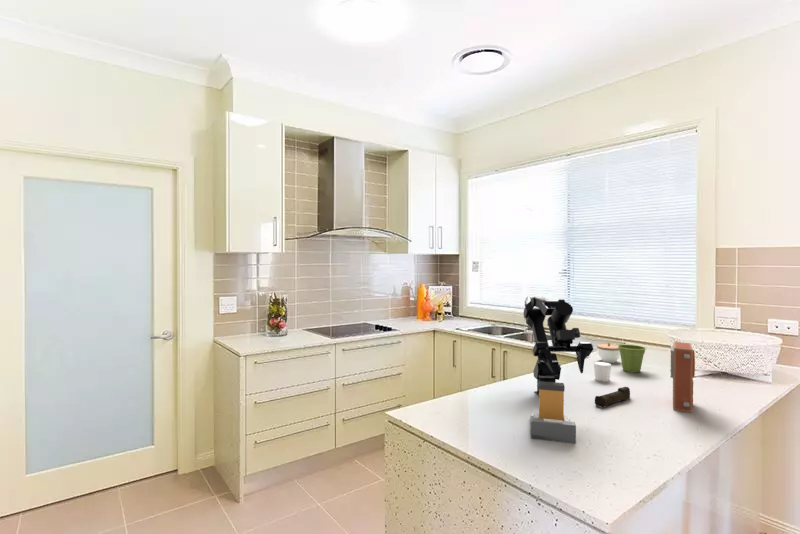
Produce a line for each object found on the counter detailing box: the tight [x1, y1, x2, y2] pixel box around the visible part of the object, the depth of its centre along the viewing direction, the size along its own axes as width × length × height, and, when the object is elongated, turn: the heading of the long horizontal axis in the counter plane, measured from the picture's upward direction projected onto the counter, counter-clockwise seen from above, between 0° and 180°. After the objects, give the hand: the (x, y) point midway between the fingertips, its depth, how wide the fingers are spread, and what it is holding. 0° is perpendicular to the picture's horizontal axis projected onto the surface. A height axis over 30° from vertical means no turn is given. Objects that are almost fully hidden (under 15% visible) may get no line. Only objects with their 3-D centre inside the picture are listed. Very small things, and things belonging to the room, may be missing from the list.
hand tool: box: [594, 386, 631, 408], centre depth 154 cm, size 19×4×5 cm, turn 119°
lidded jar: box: [596, 342, 621, 364], centre depth 217 cm, size 11×11×9 cm
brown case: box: [669, 341, 696, 413], centre depth 150 cm, size 21×7×15 cm
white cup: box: [593, 361, 612, 382], centre depth 184 cm, size 7×7×7 cm
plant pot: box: [617, 344, 647, 373], centre depth 198 cm, size 12×12×11 cm
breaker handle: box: [538, 381, 565, 421], centre depth 132 cm, size 3×7×12 cm, turn 73°
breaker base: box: [530, 412, 577, 444], centre depth 129 cm, size 16×12×5 cm
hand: (567, 372), depth 140 cm, fingers open, 9 cm apart
